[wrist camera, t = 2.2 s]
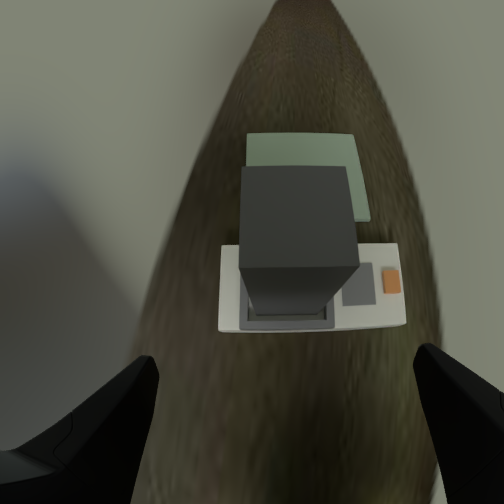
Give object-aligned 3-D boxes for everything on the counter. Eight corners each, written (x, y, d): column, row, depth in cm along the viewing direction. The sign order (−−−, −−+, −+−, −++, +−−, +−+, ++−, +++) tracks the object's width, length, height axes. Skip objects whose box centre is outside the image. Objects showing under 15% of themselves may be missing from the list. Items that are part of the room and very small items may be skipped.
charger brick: (316, 314, 19) (360, 265, 9) (256, 315, 20) (238, 267, 10) (314, 257, 21) (345, 166, 11) (256, 258, 21) (241, 166, 11)
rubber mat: (368, 221, 23) (370, 218, 22) (245, 222, 24) (244, 219, 23) (352, 137, 26) (353, 134, 26) (247, 137, 27) (247, 133, 26)
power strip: (398, 326, 20) (412, 321, 18) (222, 332, 21) (215, 328, 18) (390, 250, 22) (401, 238, 20) (224, 252, 23) (219, 239, 21)
